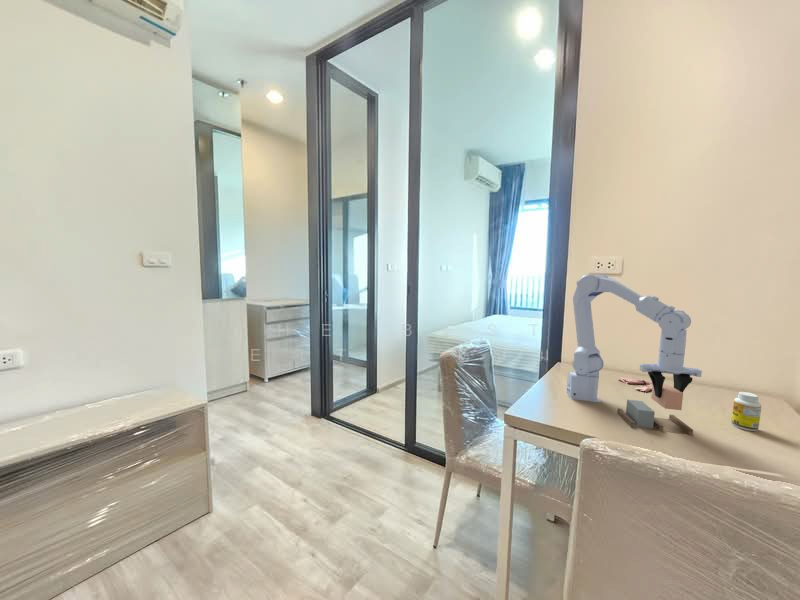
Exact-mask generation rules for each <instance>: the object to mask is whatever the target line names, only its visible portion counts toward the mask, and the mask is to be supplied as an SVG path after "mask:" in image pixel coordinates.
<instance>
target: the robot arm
mask: <svg viewBox="0 0 800 600" xmlns="http://www.w3.org/2000/svg"><path fill="white" fill-rule="evenodd" d="M604 293H611V294H614V295H615V296H617V297H619V298H621V299H623V300H625V301H627V302H629V303H630V304H632V305H634V308H635V310H636V312H638V313H640V314H642V315H643V316H644V317H646V318H648V319H649V320H651V321H653V322H655V323H657V324H658V326H659V328H661V331H660V332H661V333H660V339H659V349H658V350H659V351H658V357H657V359H658V360H657V363H648V364H647V363H640V364H639V371H641V372H642V373H646V372H647V373H648V376H649V378H650V380H651V383H653V387H654V392H655V396H657V397H658V398H661V396H662V387H663V384H665V380H666V377H665V376H664V375H663V374H670V375H671V374H672V377H673V387H674V388H675V389H677V390H679V391H680V392H682V393H683V394H684V392H685V389H686V388H688V386H689V385H690V384H692V382H693V377H698V378H702V373H703V371H702V370H701V369H699V368H694V367H688V366H687V367H686V366H684V362H685V352H686V343H687V331H688V330H687V329H688V328H689V327H690V326H691V324H692V319H691V317H690V315H689V314H688V313H686V312H685V311H684V310H677V309H676V307H675V306H672V305H671V306H670V305H667V304H666V303H664V302H662V301H660V298H659V297H658V296H654V295H653V296H652V295H645V296H642V295H640V294H639V293H638V292H636V291H634V290H632V289H631V288H630V287H627V286H626V285H624V284H622V283H621V282H620V281H618V280H616V279H615V278H612V277H609V276H608V275H606V274H590V273H588V274H587V273H586V274H584V275H582V276H581V277H580V278H579V279H578V280H577V281H576V289H575V291H574V294H573V296H572V302H573V303H572V304H573V313H574V320H575V321H574V322H575V331H576V342H577V347H576V349H575V350H574V352H573V360H572V364H571V365H572V368H573V370H574V371H573V372H572V371H570V372H568V374H567V381H566V391H565V393H566V394H567V395H568V396H569V398H570V399H571V400H577V401H586V402H593V403H602V400H600V399H599V398H598V390H599V379H600V371H601V370H602V369H603V368H604V366H605V365H604V360H603V358H602V356H601V352H600V350H599V349H598V348H597V346H596V341H595V332H594V322H593V312H592V301H593V300H594V299H596V297H598V296H600V295H602V294H604ZM675 309H676V310H675ZM692 376H693V377H692Z"/></svg>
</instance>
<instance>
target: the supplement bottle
mask: <svg viewBox="0 0 800 600" xmlns="http://www.w3.org/2000/svg"><path fill="white" fill-rule="evenodd" d="M761 412H762V403H761V402H759V396H758V394H754V393H752V392H748V391H747V392H745V391H739V392H738V395H737V397H735V398H734V399H733V405H732V415H731V425H732V426H733V427H736V428H738V429H741V430H744V431H747V432H757V431H758V430H759V427H760V420H761Z"/></svg>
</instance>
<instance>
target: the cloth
mask: <svg viewBox="0 0 800 600" xmlns="http://www.w3.org/2000/svg"><path fill="white" fill-rule="evenodd" d="M621 378H622V379H624V381H623V380H622V379H619V378H618V380H619V381H618V382H622V383H623V382H624V384H626V382H628V383H627V384H626V385H641V384H646V385H645V386H643V387H635V388H634V391H637V390H638V391H639V390H645V392H646V393H649V392H651V391H650V390H652V387H649V386H647V385H650V384H653V383H652V382H650V381H648V380H644V379H639V380H638V379H634V378H629V377H628V378H627V377H621ZM627 379H628V380H627ZM632 380H635V381H632ZM645 392H644V393H645Z"/></svg>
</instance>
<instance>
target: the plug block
mask: <svg viewBox="0 0 800 600" xmlns="http://www.w3.org/2000/svg"><path fill="white" fill-rule="evenodd" d="M650 398H651V399H652V400H653V401H655V403H656V404H658V405H659V406H661V407H662V408H664V409H665V410H674V411H676V410H677V411H682V409H683V399H684V392H683V393H682V392H680V391H679V390H677V389H675V388H674V386H672V385H670V384H669V383H663V387H662V396H661V398H658V397H657V396H655V392H654V387H653V384H652V391H651V396H650Z"/></svg>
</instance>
